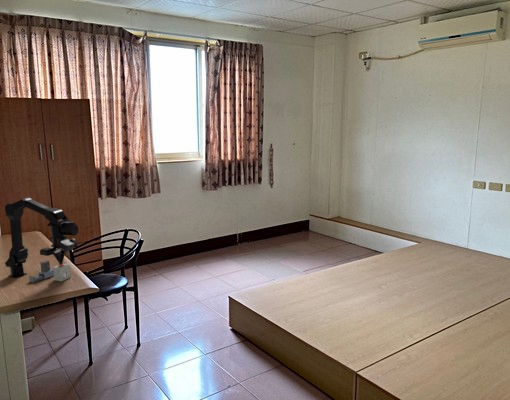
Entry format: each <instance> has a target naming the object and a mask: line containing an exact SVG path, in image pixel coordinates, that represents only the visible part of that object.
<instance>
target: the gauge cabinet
mask: <svg viewBox="0 0 510 400" xmlns="http://www.w3.org/2000/svg"><path fill="white" fill-rule="evenodd" d="M70 266H71V265H70V264H67V263H63V267H59V264H58V265H55V266H53V267H52V269H53V272H54V276H53V279H54V281H58V282H63V281H66V280H68V279H71V278H72V277H71V267H70Z"/></svg>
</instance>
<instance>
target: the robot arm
mask: <svg viewBox="0 0 510 400" xmlns="http://www.w3.org/2000/svg"><path fill="white" fill-rule="evenodd" d="M25 208H27V209H29V210H31V211H33V212H36V213H38V214H40V215H42V216H43V217H44V218H45V220H46V221H48V222H49V223H47V225H46V226H47V227H50V230H51V236H50V240H51V241H52V244H50V247H43V248H41V249H40V250H39V255H41V256H46V257H47V256H48V257H49V256H52V255H53V257H54V258H55V259H56V261H57V262H58V263H59V264H62V263H63V264H64V259H65V256H66V253H68V252H69V251H70V250H73V249H75V248H77V247H79V246H78V245H79V244H78V242H77V241H76V239H75V238H71V239H68V237H67V236H77V235H78V233H79V227H78V225H77V224H76V222H75V221H70V220H69V218H68V217H67V216H66V214H65V213H64V210H62V209H60V208H57V207H49V206H46V205H45V204H43V203H40V202H38V201H36V200H34V199H33V198H31V197H23V198H21V199H20V200H17V201H15V202H14V201H13V202H10V203H6V205H5V206H4V212H5V216H6V218H7V219H8V220H9V226H10V239H11V248H10V249H9V252H8V259H7V260H5V262H4V264H5V267H8V268H9V269H10V274H9V275H8V276H7V277H9V278H14V279H17V278H20V277H23V276H25V275H27V273H25V271H24V263H26V262H27V259H28V256H29V253H28V252H29V249H28V248H27V247H25V246H24V244H23V233H22V221H21V220H22V217H23V215H24V210H25ZM59 264H58V265H59Z"/></svg>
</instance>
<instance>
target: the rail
mask: <svg viewBox="0 0 510 400" xmlns="http://www.w3.org/2000/svg"><path fill="white" fill-rule="evenodd" d="M50 269H51V270H53V268H50ZM28 277H29V278H28V279H29V282H30V283H31V284H32V283H33V284H34V283H37V282H40V281H42V280H45V278H44V274H40V275H39V274H37V275H35V276H34V275H29V276H28Z"/></svg>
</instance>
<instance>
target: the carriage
mask: <svg viewBox="0 0 510 400" xmlns="http://www.w3.org/2000/svg"><path fill="white" fill-rule="evenodd" d="M39 264H40V270H39V271H38V272H37V273H38V274H37V275H40V274H44V278H45V279H48V278H51V277H54V272H53V270H51V269H52V268H51V265H50V264H51V263H50V261H49V260H43V261H41V262H40V263H39ZM45 279H44V280H45Z"/></svg>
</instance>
